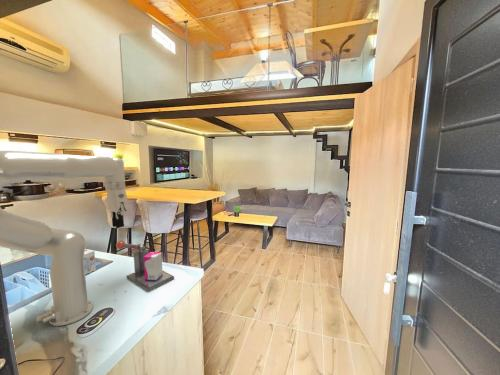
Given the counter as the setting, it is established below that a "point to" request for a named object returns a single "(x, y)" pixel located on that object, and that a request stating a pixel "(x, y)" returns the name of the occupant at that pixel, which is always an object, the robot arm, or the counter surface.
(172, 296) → the counter surface
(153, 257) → the supplement box
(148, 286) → the press bed
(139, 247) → the press lever
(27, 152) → the robot arm
